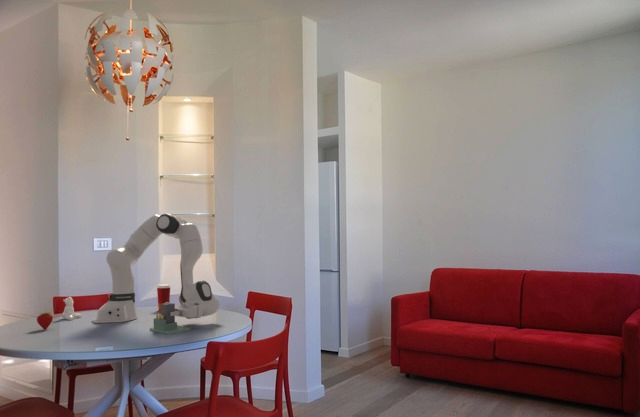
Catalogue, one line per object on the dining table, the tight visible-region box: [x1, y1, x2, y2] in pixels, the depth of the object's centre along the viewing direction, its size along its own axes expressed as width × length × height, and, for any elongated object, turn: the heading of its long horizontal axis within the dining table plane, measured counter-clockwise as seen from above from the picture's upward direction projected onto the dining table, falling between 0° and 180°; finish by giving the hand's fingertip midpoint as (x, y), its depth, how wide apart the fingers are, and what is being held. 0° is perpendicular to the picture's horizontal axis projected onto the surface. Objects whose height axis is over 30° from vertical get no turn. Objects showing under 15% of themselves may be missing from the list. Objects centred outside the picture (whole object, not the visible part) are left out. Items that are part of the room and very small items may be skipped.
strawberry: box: [36, 310, 54, 330], centre depth 262 cm, size 6×8×10 cm
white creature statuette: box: [61, 296, 82, 321], centre depth 292 cm, size 10×9×12 cm
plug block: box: [160, 302, 176, 324], centre depth 254 cm, size 5×5×11 cm
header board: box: [149, 313, 191, 335], centre depth 255 cm, size 12×16×8 cm
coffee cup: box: [156, 283, 171, 312], centre depth 317 cm, size 8×8×15 cm
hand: (166, 313), depth 254 cm, fingers closed on plug block, 5 cm apart
